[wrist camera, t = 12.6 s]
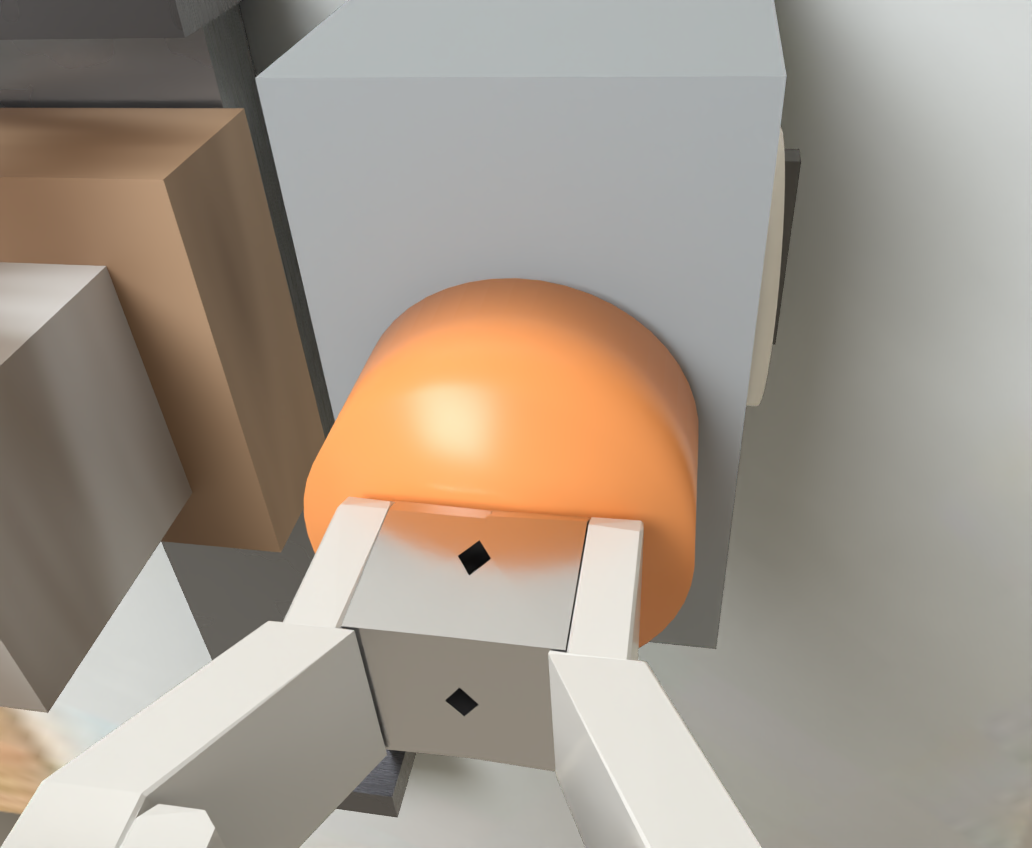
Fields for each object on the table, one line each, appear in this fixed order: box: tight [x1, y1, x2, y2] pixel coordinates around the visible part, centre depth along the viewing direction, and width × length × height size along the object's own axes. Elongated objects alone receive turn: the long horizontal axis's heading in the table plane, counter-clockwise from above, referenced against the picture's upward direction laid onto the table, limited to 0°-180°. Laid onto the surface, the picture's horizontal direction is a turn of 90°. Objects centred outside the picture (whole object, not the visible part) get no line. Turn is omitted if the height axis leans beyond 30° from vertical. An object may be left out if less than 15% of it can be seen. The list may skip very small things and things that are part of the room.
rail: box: [0, 0, 416, 817], centre depth 22 cm, size 6×24×3 cm, turn 3°
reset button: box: [304, 278, 698, 648], centre depth 10 cm, size 4×4×2 cm
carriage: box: [0, 108, 325, 713], centre depth 16 cm, size 6×8×8 cm
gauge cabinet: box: [255, 0, 801, 649], centre depth 14 cm, size 6×8×8 cm
